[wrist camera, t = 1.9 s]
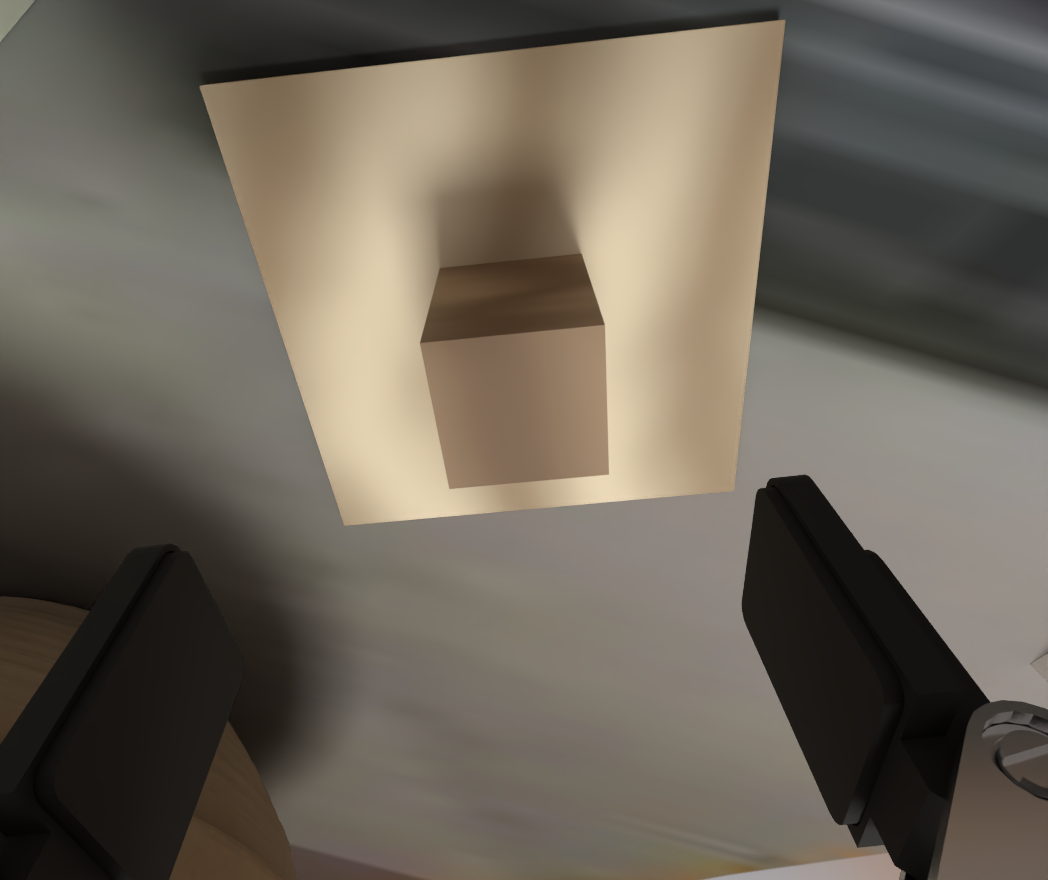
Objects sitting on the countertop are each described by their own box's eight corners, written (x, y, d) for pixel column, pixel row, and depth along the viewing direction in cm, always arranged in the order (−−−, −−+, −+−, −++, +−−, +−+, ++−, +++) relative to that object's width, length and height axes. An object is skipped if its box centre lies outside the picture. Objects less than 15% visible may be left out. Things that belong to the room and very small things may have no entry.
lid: (770, 19, 16) (894, 18, 11) (725, 473, 23) (785, 597, 18) (215, 82, 16) (84, 109, 11) (350, 508, 24) (308, 637, 19)
